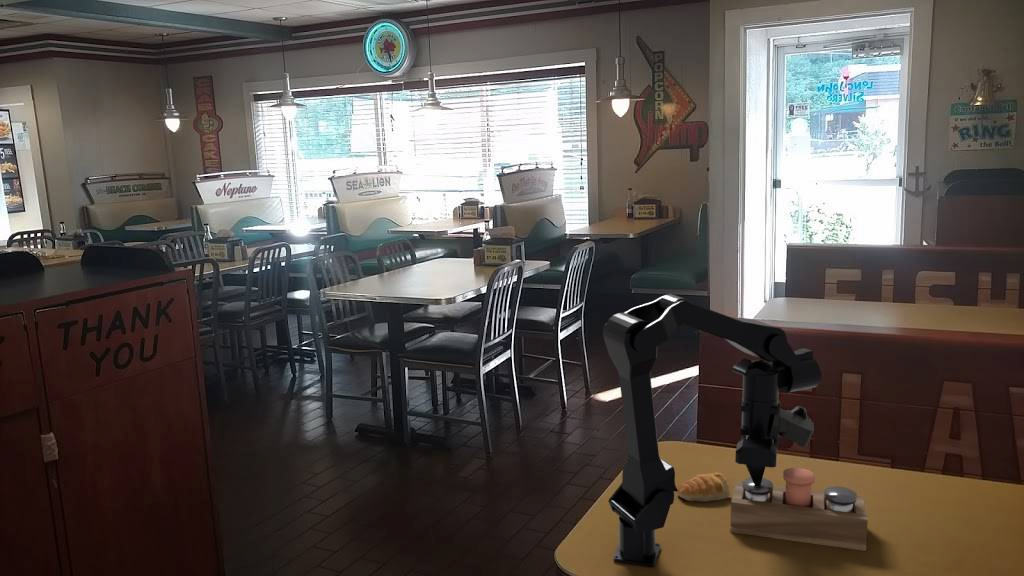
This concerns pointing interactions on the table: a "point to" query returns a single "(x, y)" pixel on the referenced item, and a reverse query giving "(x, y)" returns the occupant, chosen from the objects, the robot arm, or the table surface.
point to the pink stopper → (798, 486)
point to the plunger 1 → (757, 490)
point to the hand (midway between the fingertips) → (757, 483)
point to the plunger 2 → (840, 499)
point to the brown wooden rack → (799, 520)
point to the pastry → (705, 488)
